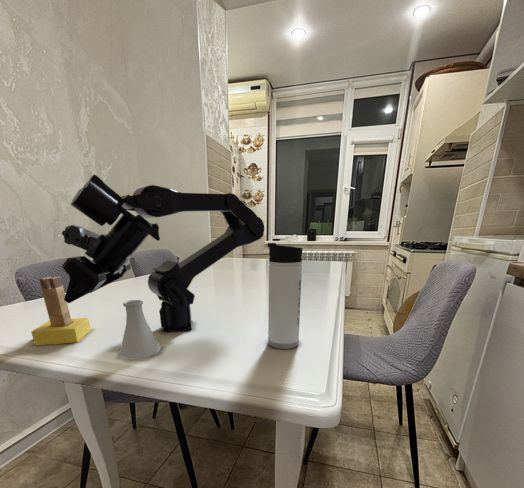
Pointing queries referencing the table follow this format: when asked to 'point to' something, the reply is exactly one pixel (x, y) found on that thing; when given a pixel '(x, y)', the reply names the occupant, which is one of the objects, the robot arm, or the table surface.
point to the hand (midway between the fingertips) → (78, 296)
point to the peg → (55, 301)
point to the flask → (137, 333)
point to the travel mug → (284, 295)
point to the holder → (61, 332)
